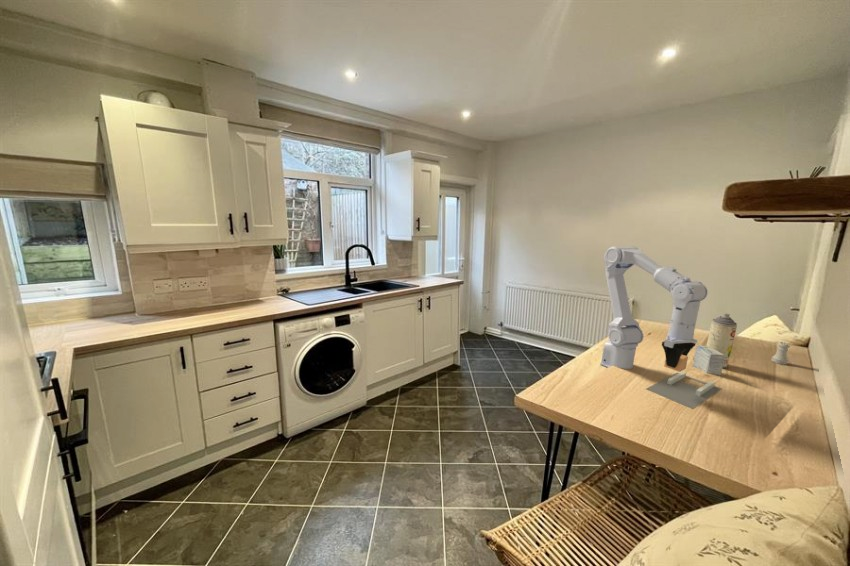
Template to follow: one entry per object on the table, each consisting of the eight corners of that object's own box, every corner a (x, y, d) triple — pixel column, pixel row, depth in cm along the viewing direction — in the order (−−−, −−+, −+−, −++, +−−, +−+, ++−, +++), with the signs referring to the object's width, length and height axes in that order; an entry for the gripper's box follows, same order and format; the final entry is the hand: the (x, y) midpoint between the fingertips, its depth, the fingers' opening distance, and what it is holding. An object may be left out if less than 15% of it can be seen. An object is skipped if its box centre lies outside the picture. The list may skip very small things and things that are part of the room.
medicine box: (720, 378, 109) (726, 355, 107) (705, 377, 110) (710, 354, 108) (705, 368, 116) (710, 346, 115) (691, 367, 117) (696, 345, 115)
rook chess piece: (775, 363, 122) (780, 344, 120) (768, 359, 126) (773, 340, 124) (790, 365, 120) (796, 346, 118) (783, 361, 124) (788, 342, 122)
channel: (644, 393, 98) (646, 384, 98) (676, 376, 110) (677, 368, 109) (691, 413, 88) (694, 404, 88) (721, 392, 100) (723, 384, 99)
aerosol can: (727, 370, 115) (740, 317, 111) (702, 364, 120) (714, 313, 115) (726, 364, 120) (738, 313, 116) (703, 358, 125) (713, 309, 121)
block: (664, 366, 97) (666, 354, 96) (670, 363, 99) (672, 351, 98) (679, 371, 93) (682, 359, 92) (685, 368, 95) (688, 356, 95)
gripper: (689, 330, 86) (679, 376, 89) (709, 322, 94) (700, 364, 96) (659, 322, 92) (651, 366, 95) (681, 315, 99) (673, 356, 102)
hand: (674, 364), depth 96 cm, fingers closed on block, 4 cm apart
